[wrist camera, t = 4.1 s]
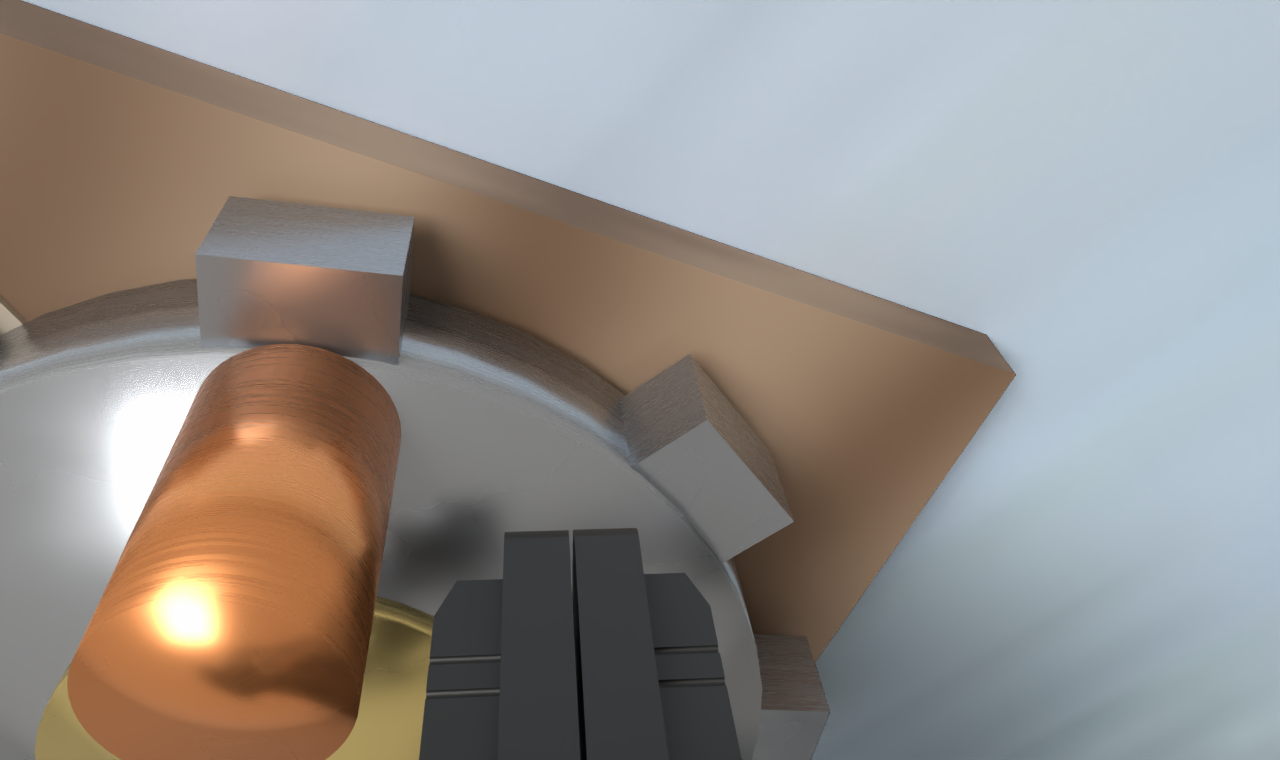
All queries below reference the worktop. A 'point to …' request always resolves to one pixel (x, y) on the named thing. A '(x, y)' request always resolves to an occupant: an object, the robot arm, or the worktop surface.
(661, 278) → the board
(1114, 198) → the worktop surface
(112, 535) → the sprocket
